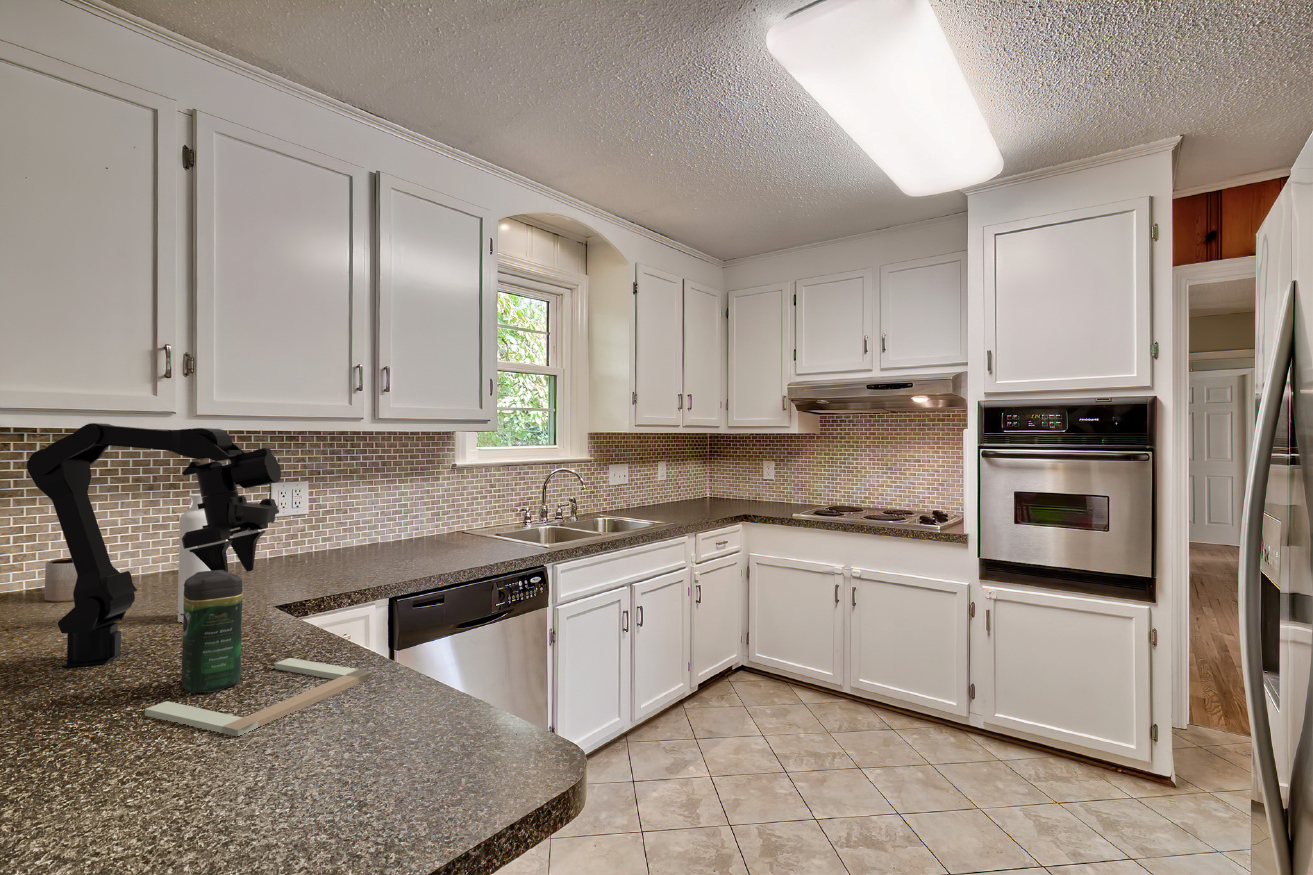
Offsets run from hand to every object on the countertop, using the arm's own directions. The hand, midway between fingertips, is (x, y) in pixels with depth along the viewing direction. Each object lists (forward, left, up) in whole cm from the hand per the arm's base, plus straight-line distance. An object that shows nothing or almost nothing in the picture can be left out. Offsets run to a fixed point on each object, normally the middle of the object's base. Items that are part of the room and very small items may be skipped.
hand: (238, 575), depth 120 cm
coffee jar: (0, -15, -15) cm, 21 cm away
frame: (+10, -23, -15) cm, 29 cm away
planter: (-51, +64, -15) cm, 83 cm away
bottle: (-15, +32, -15) cm, 38 cm away
